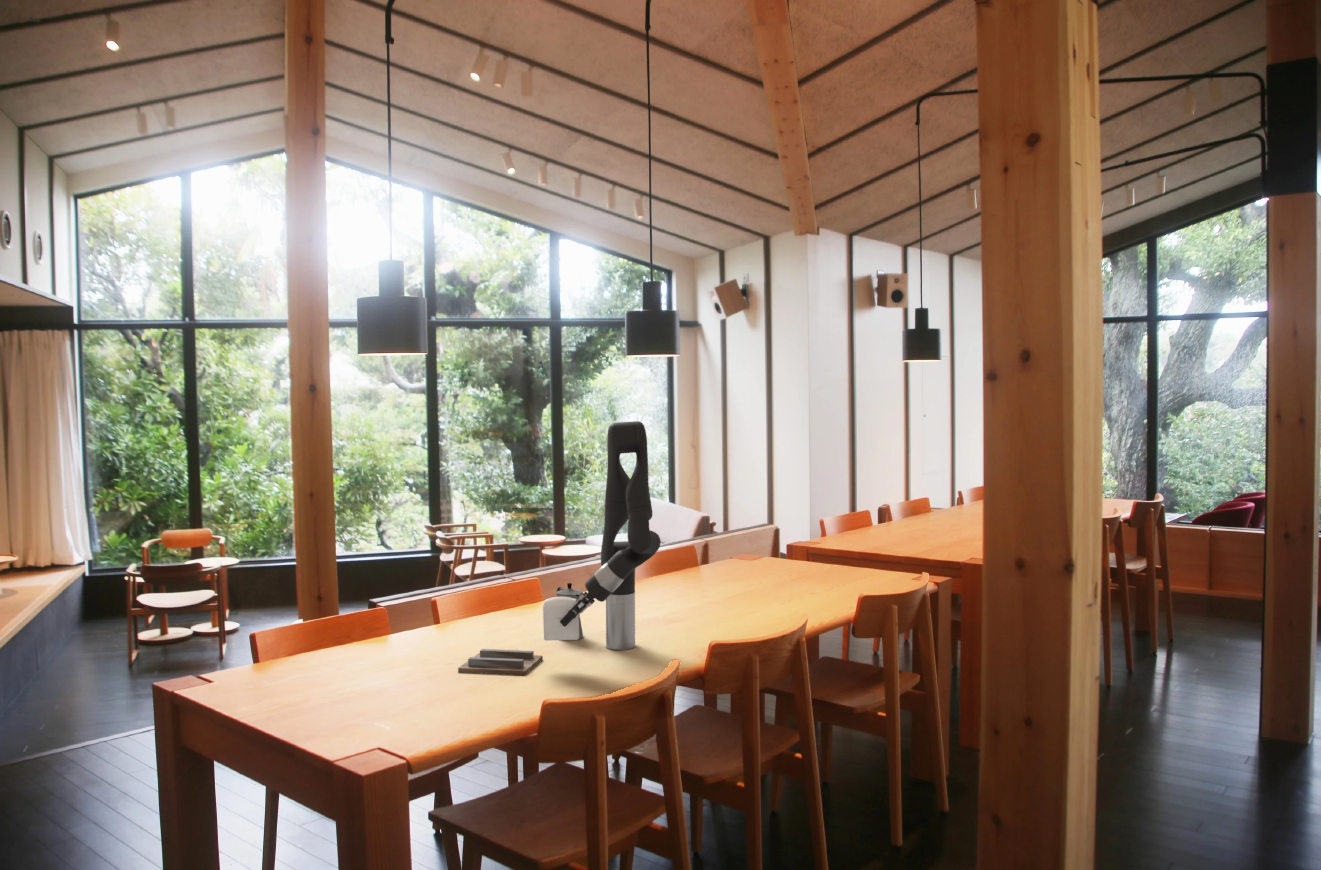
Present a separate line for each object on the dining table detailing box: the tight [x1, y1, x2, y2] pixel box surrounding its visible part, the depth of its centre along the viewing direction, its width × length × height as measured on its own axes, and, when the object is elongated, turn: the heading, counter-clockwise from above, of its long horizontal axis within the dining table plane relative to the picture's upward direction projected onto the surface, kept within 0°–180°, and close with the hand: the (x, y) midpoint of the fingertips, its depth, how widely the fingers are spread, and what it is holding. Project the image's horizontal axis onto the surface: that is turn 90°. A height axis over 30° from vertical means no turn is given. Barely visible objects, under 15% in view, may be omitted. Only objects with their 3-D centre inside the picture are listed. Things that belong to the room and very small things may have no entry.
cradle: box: [457, 648, 544, 676], centre depth 253 cm, size 16×20×3 cm
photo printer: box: [542, 596, 580, 641], centre depth 249 cm, size 10×4×12 cm, turn 89°
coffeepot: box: [555, 582, 584, 640], centre depth 286 cm, size 15×9×18 cm, turn 33°
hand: (564, 621), depth 249 cm, fingers closed on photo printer, 4 cm apart
